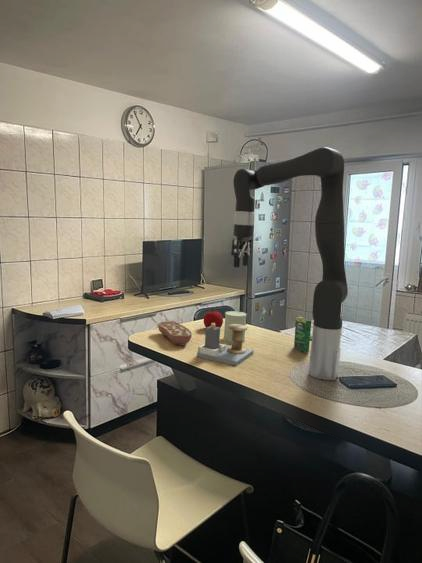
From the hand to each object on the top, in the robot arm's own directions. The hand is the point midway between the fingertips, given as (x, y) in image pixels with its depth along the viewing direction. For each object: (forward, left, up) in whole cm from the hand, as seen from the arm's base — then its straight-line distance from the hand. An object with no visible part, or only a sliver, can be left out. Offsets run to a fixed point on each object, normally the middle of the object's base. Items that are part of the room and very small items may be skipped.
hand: (241, 266), depth 159 cm
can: (+6, -12, -33) cm, 36 cm away
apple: (+21, -21, -33) cm, 45 cm away
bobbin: (-3, +6, -32) cm, 32 cm away
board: (0, +9, -33) cm, 34 cm away
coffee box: (-22, -16, -33) cm, 43 cm away
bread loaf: (+26, +4, -34) cm, 43 cm away
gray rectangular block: (+5, +12, -32) cm, 34 cm away
